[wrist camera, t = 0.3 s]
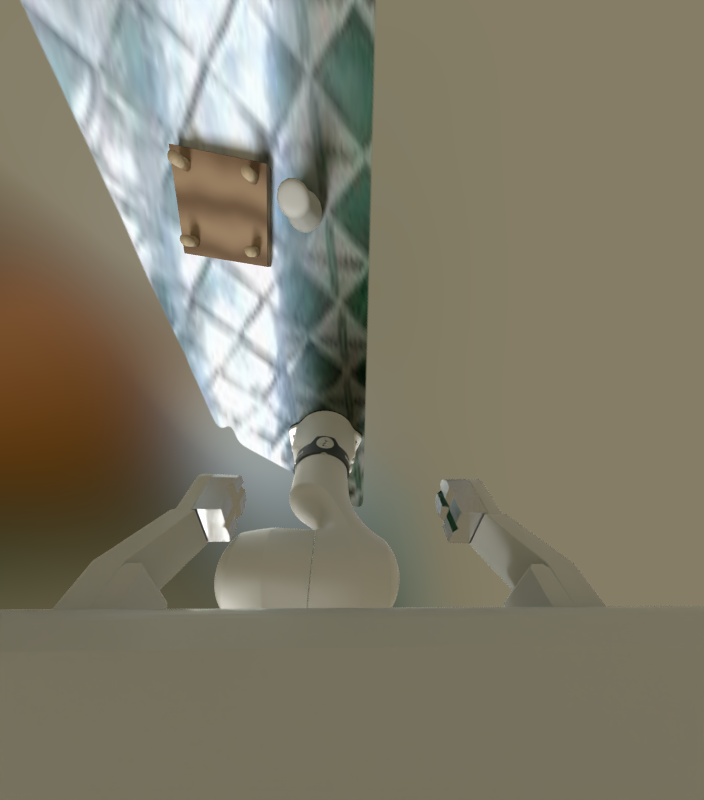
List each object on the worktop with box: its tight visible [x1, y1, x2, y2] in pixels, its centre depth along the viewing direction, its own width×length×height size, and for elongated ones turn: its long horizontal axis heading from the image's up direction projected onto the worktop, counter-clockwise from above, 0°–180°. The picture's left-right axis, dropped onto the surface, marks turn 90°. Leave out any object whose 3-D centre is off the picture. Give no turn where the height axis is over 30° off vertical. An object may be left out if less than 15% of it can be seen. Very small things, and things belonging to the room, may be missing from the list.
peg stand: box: [168, 144, 271, 267], centre depth 41 cm, size 14×14×6 cm
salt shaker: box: [277, 178, 322, 232], centre depth 38 cm, size 6×6×13 cm
